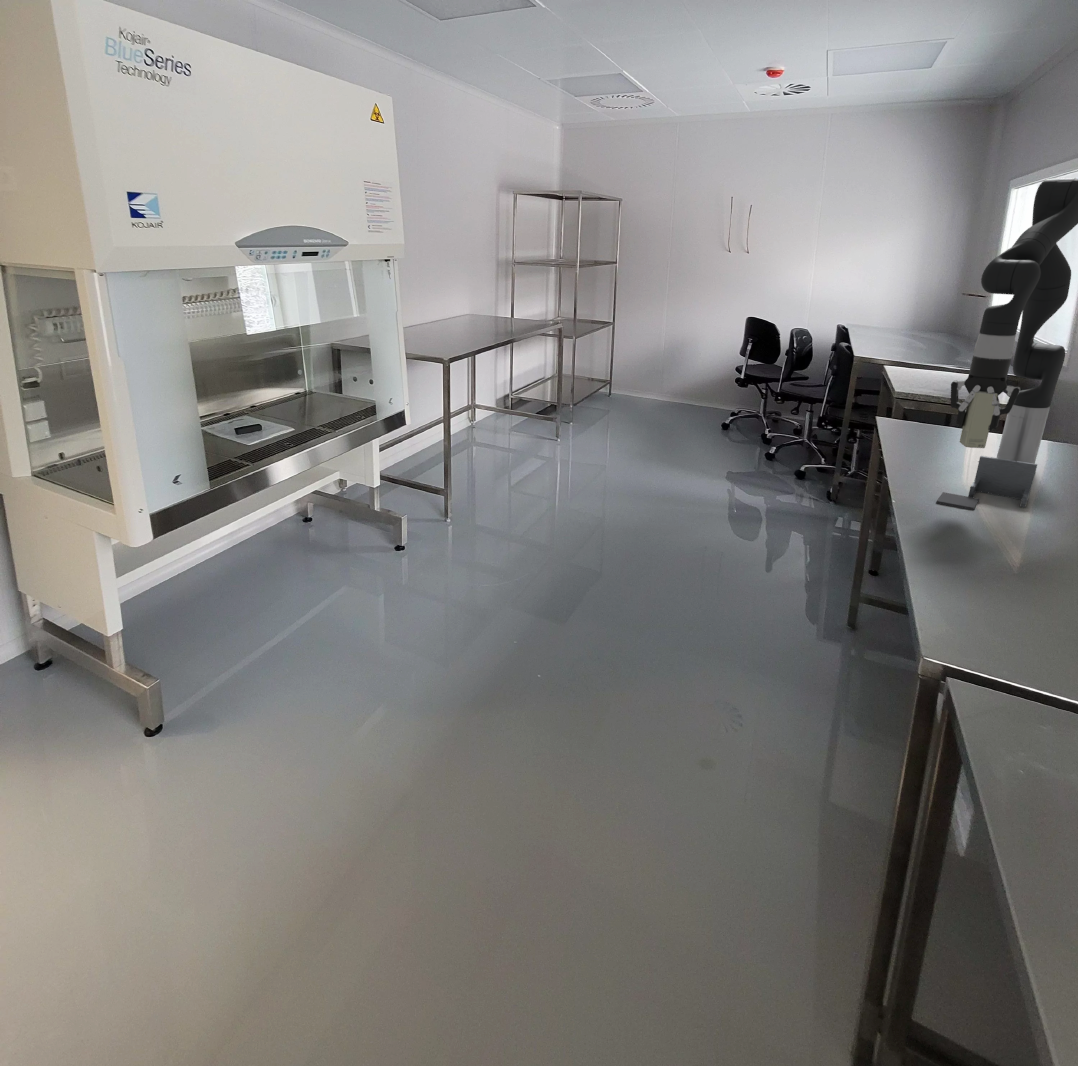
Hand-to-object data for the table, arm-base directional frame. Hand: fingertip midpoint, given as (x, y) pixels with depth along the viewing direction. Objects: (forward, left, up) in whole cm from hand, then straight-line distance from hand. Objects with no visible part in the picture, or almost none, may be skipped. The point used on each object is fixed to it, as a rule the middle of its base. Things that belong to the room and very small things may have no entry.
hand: (975, 428), depth 171 cm
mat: (0, 0, -18) cm, 18 cm away
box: (0, 0, -4) cm, 4 cm away
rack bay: (-8, +7, -18) cm, 21 cm away
